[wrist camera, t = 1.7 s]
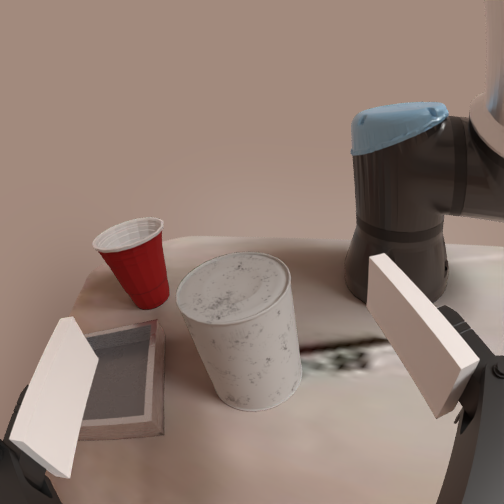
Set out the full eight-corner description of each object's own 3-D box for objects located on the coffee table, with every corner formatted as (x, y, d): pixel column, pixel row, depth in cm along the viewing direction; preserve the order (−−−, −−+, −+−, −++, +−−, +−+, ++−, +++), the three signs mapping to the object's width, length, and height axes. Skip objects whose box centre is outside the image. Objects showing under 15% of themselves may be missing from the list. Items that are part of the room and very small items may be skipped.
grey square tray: (165, 335, 39) (157, 319, 37) (163, 435, 26) (151, 420, 24) (73, 352, 38) (62, 338, 36) (50, 439, 25) (35, 426, 23)
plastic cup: (200, 289, 47) (177, 217, 41) (144, 330, 40) (109, 257, 34) (161, 270, 54) (139, 208, 48) (112, 304, 47) (82, 240, 41)
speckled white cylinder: (198, 371, 33) (158, 285, 27) (265, 329, 37) (245, 241, 31) (246, 428, 26) (210, 344, 20) (321, 373, 30) (316, 277, 24)
